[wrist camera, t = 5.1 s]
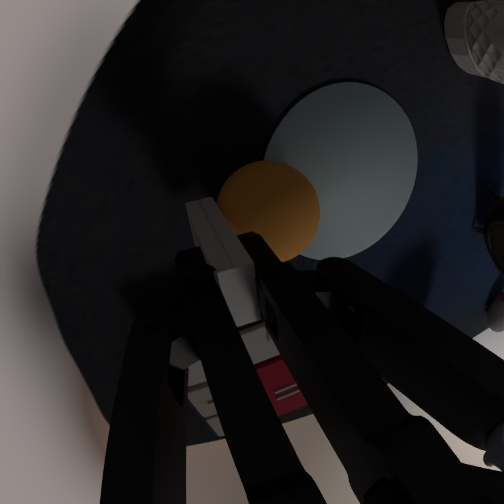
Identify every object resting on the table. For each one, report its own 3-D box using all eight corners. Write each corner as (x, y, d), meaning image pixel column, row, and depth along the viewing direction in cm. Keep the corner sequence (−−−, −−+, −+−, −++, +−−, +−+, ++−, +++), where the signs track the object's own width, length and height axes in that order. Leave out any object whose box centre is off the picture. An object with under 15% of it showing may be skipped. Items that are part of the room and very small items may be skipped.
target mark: (406, 70, 17) (408, 71, 17) (416, 221, 25) (418, 222, 25) (233, 111, 16) (234, 111, 16) (285, 285, 23) (286, 286, 23)
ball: (251, 140, 18) (334, 150, 15) (267, 215, 21) (340, 237, 18) (181, 184, 15) (268, 205, 12) (211, 265, 19) (287, 300, 15)
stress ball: (478, 304, 47) (505, 315, 43) (474, 331, 42) (504, 344, 38) (493, 271, 43) (522, 284, 39) (493, 297, 37) (525, 311, 34)
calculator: (216, 442, 27) (152, 365, 18) (206, 407, 30) (146, 317, 21) (320, 403, 29) (318, 305, 20) (302, 371, 32) (291, 266, 23)
